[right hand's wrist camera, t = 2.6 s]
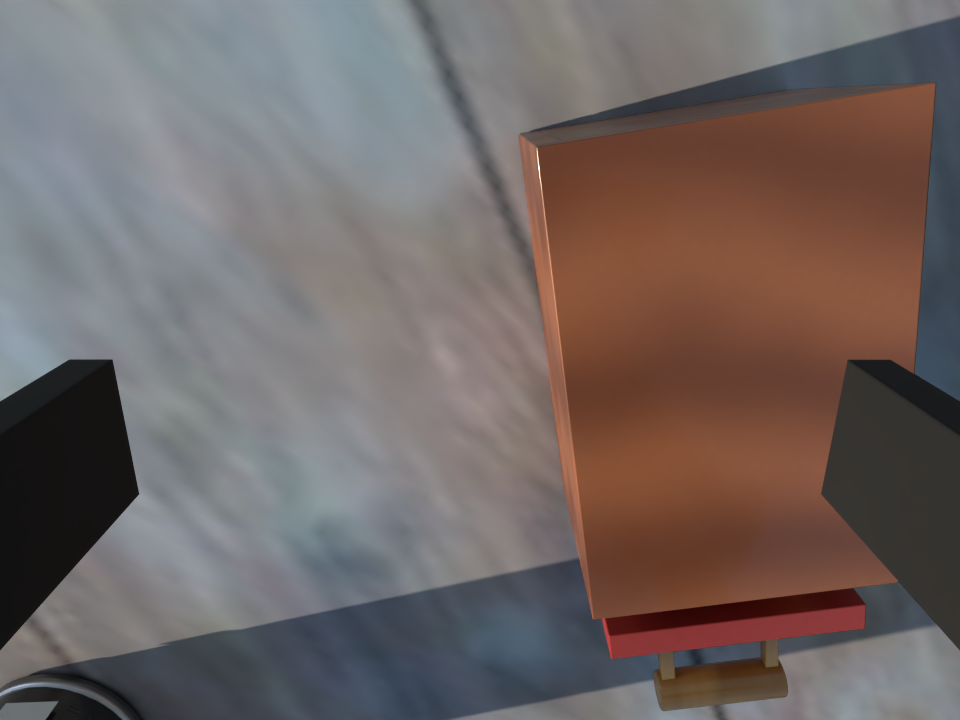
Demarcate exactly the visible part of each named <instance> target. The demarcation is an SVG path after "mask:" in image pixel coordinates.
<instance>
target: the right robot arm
mask: <svg viewBox="0 0 960 720" xmlns="http://www.w3.org/2000/svg"><path fill="white" fill-rule="evenodd" d="M138 495H139V491H138V486H137V481H136V476H135V471H134V466H133V461H132V456H131V451H130V446H129V441H128V436H127V431H126V426H125V421H124V416H123V411H122V406H121V400H120V395H119V390H118V385H117V380H116V375H115V370H114V365H113V360H68V361H66V362H65V363H63V364H61V365H60V366H58V367H57V368H55V369H53V370H52V371H50V372H48V373H47V374H45V375H43V376H42V377H40V378H38V379H37V380H35V381H33V382H32V383H30V384H28V385H27V386H25V387H23V388H22V389H20V390H19V391H17V392H15V393H14V394H12V395H10V396H9V397H7V398H5V399H4V400H2V401H0V650H1V649H2V648H3V646H4V645H5V644H6V643H7V642H8V641H9V640H10V639H11V638H12V636H13V635H14V634H15V633H16V632H17V631H18V630H19V629H20V627H21V626H22V625H23V624H24V623H25V622H26V621H27V620H28V618H29V617H30V616H31V615H32V614H33V613H34V612H35V611H36V609H37V608H38V607H39V606H40V605H41V604H42V603H43V602H44V600H45V599H46V598H47V597H48V596H49V595H50V594H51V593H52V591H53V590H54V589H55V588H56V587H57V586H58V585H59V584H60V582H61V581H62V580H63V579H64V578H65V577H66V576H67V575H68V573H69V572H70V571H71V570H72V569H73V568H74V567H75V566H76V564H77V563H78V562H79V561H80V560H81V559H82V558H83V557H84V555H85V554H86V553H87V552H88V551H89V550H90V549H91V548H92V546H93V545H94V544H95V543H96V542H97V541H98V540H99V539H100V537H101V536H102V535H103V534H104V533H105V532H106V531H107V530H108V529H109V527H110V526H111V525H112V524H113V523H114V522H115V521H116V520H117V518H118V517H119V516H120V515H121V514H122V513H123V512H124V511H125V509H126V508H127V507H128V506H129V505H130V504H131V503H132V502H133V500H134V499H135V498H136V497H137V496H138ZM821 495H822V496H823V497H824V498H825V499H826V500H827V502H828V503H829V504H830V505H831V506H832V507H833V508H834V509H835V511H836V512H837V513H838V514H839V515H840V516H841V517H842V518H843V520H844V521H845V522H846V523H847V524H848V525H849V526H850V527H851V529H852V530H853V531H854V532H855V533H856V534H857V535H858V536H859V537H860V539H861V540H862V541H863V542H864V543H865V544H866V545H867V546H868V548H869V549H870V550H871V551H872V552H873V553H874V554H875V555H876V557H877V558H878V559H879V560H880V561H881V562H882V563H883V564H884V566H885V567H886V568H887V569H888V570H889V571H890V572H891V573H892V575H893V576H894V577H895V578H896V579H897V580H898V581H899V582H900V584H901V585H902V586H903V587H904V588H905V589H906V590H907V591H908V593H909V594H910V595H911V596H912V597H913V598H914V599H915V600H916V602H917V603H918V604H919V605H920V606H921V607H922V608H923V609H924V611H925V612H926V613H927V614H928V615H929V616H930V617H931V618H932V620H933V621H934V622H935V623H936V624H937V625H938V626H939V627H940V629H941V630H942V631H943V632H944V633H945V634H946V635H947V636H948V638H949V639H950V640H951V641H952V642H953V643H954V644H955V645H956V646H957V648H958V649H959V650H960V401H958V400H956V399H955V398H953V397H951V396H950V395H948V394H946V393H945V392H943V391H941V390H940V389H938V388H937V387H935V386H933V385H932V384H930V383H928V382H927V381H925V380H923V379H922V378H920V377H918V376H917V375H915V374H913V373H912V372H910V371H908V370H907V369H905V368H903V367H902V366H900V365H899V364H897V363H895V362H894V361H892V360H847V365H846V370H845V375H844V380H843V385H842V390H841V395H840V400H839V406H838V411H837V416H836V421H835V426H834V431H833V436H832V441H831V446H830V451H829V456H828V461H827V466H826V471H825V476H824V481H823V486H822V491H821Z"/></svg>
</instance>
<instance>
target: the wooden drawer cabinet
mask: <svg viewBox="0 0 960 720" xmlns="http://www.w3.org/2000/svg"><path fill="white" fill-rule="evenodd" d="M935 93H936V83H934V82H932V83H911V84H891V85H870V86H850V87H830V88H810V89H792V90H784V91H778V92H772V93H766V94H760V95H754V96H748V97H741V98H735V99H729V100H723V101H717V102H711V103H705V104H698V105H692V106H686V107H680V108H674V109H668V110H662V111H655V112H649V113H643V114H637V115H631V116H625V117H619V118H612V119H606V120H600V121H594V122H588V123H582V124H576V125H569V126H563V127H557V128H551V129H545V130H539V131H533V132H526V133H521V134H519V142H520V150H521V158H522V166H523V173H524V181H525V189H526V197H527V205H528V212H529V220H530V228H531V236H532V244H533V251H534V259H535V267H536V275H537V283H538V290H539V298H540V306H541V314H542V322H543V329H544V337H545V345H546V353H547V360H548V368H549V376H550V384H551V392H552V399H553V407H554V415H555V423H556V431H557V438H558V446H559V454H560V462H561V470H562V477H563V485H564V491H565V494H566V500H567V504H568V509H569V514H570V518H571V523H572V527H573V532H574V536H575V541H576V545H577V550H578V555H579V559H580V564H581V568H582V573H583V577H584V582H585V587H586V591H587V596H588V600H589V605H590V609H591V614H592V618H593V620H596V619H604V618H613V617H621V616H629V615H637V614H645V613H653V612H661V611H669V610H677V609H686V608H694V607H702V606H710V605H718V604H726V603H734V602H742V601H750V600H759V599H767V598H775V597H783V596H791V595H799V594H807V593H815V592H824V591H832V590H840V589H848V588H856V587H864V586H872V585H880V584H888V583H897V582H899V581H898V580H897V579H896V578H895V577H894V576H893V575H892V573H891V572H890V571H889V570H888V569H887V568H886V567H885V566H884V564H883V563H882V562H881V561H880V560H879V559H878V558H877V557H876V555H875V554H874V553H873V552H872V551H871V550H870V549H869V548H868V546H867V545H866V544H865V543H864V542H863V541H862V540H861V539H860V537H859V536H858V535H857V534H856V533H855V532H854V531H853V530H852V529H851V527H850V526H849V525H848V524H847V523H846V522H845V521H844V520H843V518H842V517H841V516H840V515H839V514H838V513H837V512H836V511H835V509H834V508H833V507H832V506H831V505H830V504H829V503H828V502H827V500H826V499H825V498H824V497H823V496H822V495H821V491H822V486H823V481H824V476H825V471H826V466H827V461H828V456H829V451H830V446H831V441H832V436H833V431H834V426H835V421H836V416H837V411H838V406H839V400H840V395H841V390H842V385H843V380H844V375H845V370H846V365H847V360H892V361H894V362H895V363H897V364H899V365H900V366H902V367H903V368H905V369H907V370H908V371H910V372H912V373H913V374H914V371H915V358H916V345H917V332H918V318H919V305H920V292H921V279H922V265H923V252H924V239H925V226H926V212H927V199H928V186H929V173H930V159H931V146H932V133H933V120H934V106H935Z"/></svg>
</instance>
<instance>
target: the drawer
mask: <svg viewBox="0 0 960 720" xmlns="http://www.w3.org/2000/svg"><path fill="white" fill-rule="evenodd" d="M865 617H866V604H865V603H864V601H863V600H862V599H861V598H860V596H859V595H858V594H857V592H856V591H855V590H854V588H848V589H840V590H832V591H824V592H815V593H807V594H799V595H791V596H783V597H775V598H767V599H759V600H750V601H742V602H734V603H726V604H718V605H710V606H702V607H694V608H686V609H677V610H669V611H661V612H653V613H645V614H637V615H629V616H621V617H613V618H604V619H602V623H603V627H604V631H605V635H606V640H607V644H608V648H609V652H610V657H611V659H615V658H624V657H632V656H640V655H649V654H657V653H658V661H659V669H658V670H654V673H653V678H654V685H655V691H656V695H657V699H658V703H659V706H660V708H661V710H662V711H669V710H678V709H687V708H695V707H704V706H713V705H721V704H730V703H739V702H747V701H756V700H765V699H773V698H782V697H786V696H787V694H788V685H787V679H786V675H785V672H784V669H783V667H782V665H781V663H780V661H779V659H778V639H782V638H790V637H799V636H807V635H815V634H824V633H832V632H840V631H849V630H857V629H864V628H865ZM757 641H761V657H759V658H750V659H742V660H734V661H725V662H717V663H708V664H700V665H691V666H683V667H675V666H674V651H682V650H690V649H699V648H707V647H715V646H724V645H732V644H740V643H749V642H757Z"/></svg>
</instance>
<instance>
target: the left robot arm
mask: <svg viewBox="0 0 960 720" xmlns="http://www.w3.org/2000/svg"><path fill="white" fill-rule="evenodd" d="M0 720H140V719H139V717H138V716H137V714H136V713H135V712H134V711H133V709H132V708H131V707H130V706H129V705H128V704H127V703H126V702H125V701H123V700H122V699H121V698H120V697H118V696H117V695H115V694H114V693H112V692H111V691H109V690H108V689H106V688H104V687H102V686H100V685H98V684H95V683H93V682H90V681H87V680H84V679H81V678H77V677H73V676H68V675H60V674H39V675H32V676H26V677H23V678H19V679H17V680H14V681H12V682H10V683H8V684H6V685H5V686H3V687H2V688H1V689H0Z"/></svg>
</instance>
